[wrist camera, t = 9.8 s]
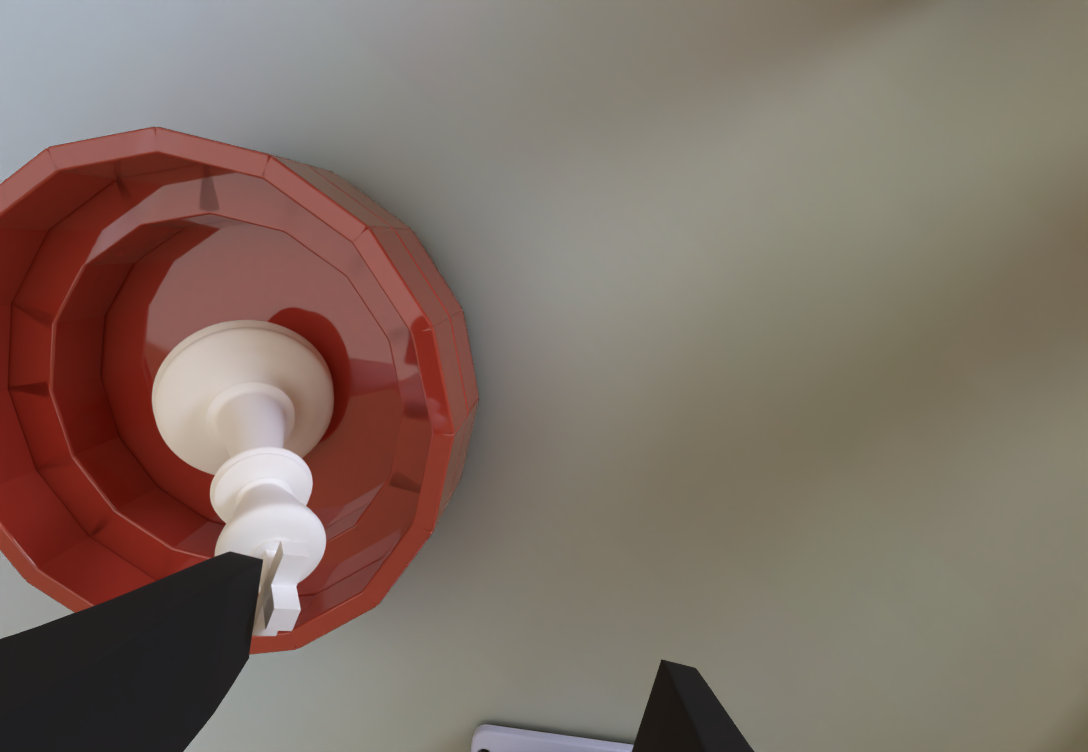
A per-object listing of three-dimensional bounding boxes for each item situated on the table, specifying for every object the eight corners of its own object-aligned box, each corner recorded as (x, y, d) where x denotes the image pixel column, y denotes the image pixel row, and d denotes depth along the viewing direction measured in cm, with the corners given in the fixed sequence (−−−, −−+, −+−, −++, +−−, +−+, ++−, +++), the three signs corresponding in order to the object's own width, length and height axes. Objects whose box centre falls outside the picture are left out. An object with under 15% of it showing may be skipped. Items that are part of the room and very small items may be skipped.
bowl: (511, 550, 21) (492, 630, 17) (133, 593, 22) (25, 678, 18) (432, 119, 18) (385, 81, 14) (4, 198, 20) (-161, 186, 15)
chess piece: (355, 347, 20) (465, 514, 11) (301, 482, 20) (367, 730, 12) (183, 295, 17) (164, 465, 9) (128, 453, 18) (62, 748, 9)
